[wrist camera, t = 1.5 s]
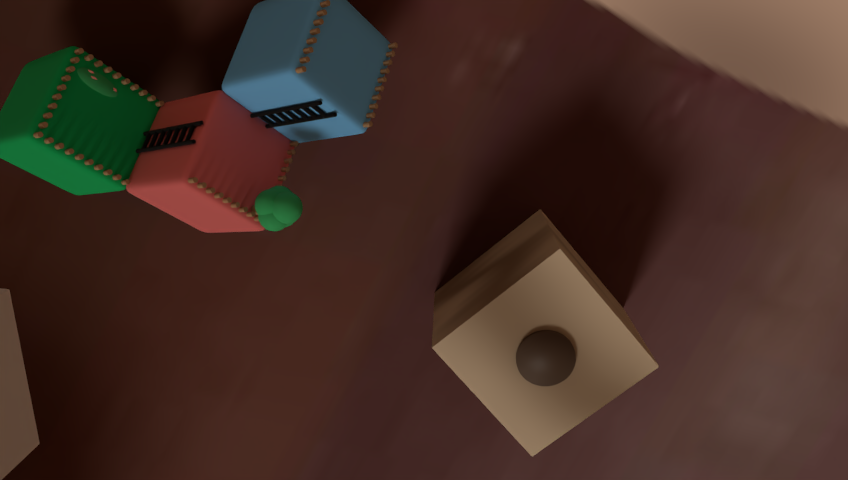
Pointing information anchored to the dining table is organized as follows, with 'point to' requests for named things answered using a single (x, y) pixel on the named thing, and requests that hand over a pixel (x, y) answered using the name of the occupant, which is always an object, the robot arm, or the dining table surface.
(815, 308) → the dining table surface
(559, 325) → the maple cube
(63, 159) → the building blocks
